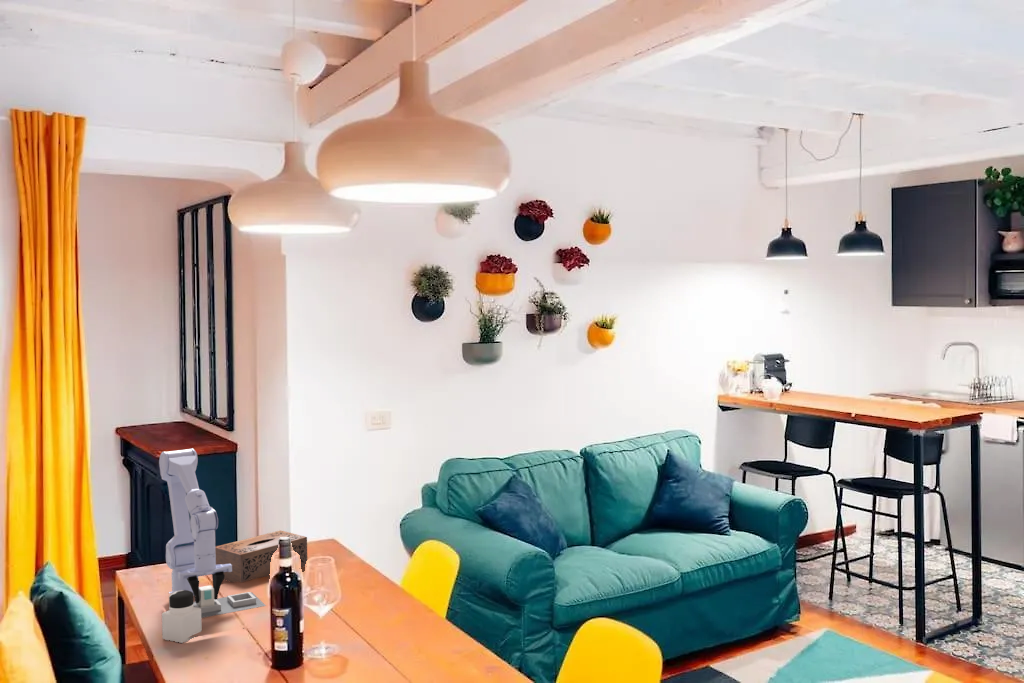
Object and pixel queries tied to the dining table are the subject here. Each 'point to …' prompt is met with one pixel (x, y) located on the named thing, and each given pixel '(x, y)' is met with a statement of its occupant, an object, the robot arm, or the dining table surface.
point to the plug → (206, 596)
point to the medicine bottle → (181, 617)
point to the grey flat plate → (231, 604)
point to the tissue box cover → (256, 555)
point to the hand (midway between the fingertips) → (206, 600)
